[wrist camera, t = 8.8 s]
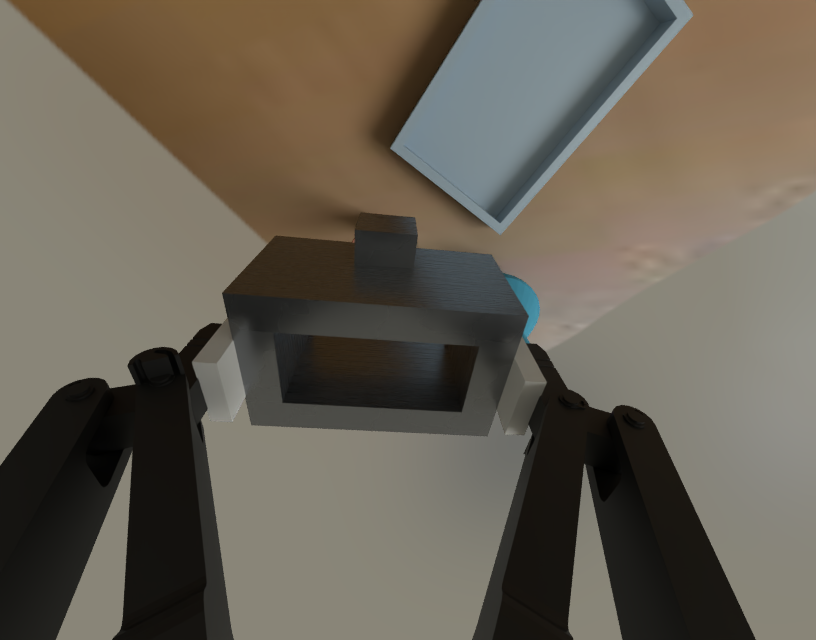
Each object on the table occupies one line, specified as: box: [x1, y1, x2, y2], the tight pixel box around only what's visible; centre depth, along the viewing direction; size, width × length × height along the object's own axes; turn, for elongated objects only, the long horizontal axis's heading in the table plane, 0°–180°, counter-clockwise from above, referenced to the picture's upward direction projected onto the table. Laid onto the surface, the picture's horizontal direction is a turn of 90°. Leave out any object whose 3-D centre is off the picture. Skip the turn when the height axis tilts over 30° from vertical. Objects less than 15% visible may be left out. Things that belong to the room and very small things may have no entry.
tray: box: [390, 0, 693, 235], centre depth 28 cm, size 13×20×2 cm, turn 144°
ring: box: [222, 213, 529, 436], centre depth 15 cm, size 10×8×6 cm
